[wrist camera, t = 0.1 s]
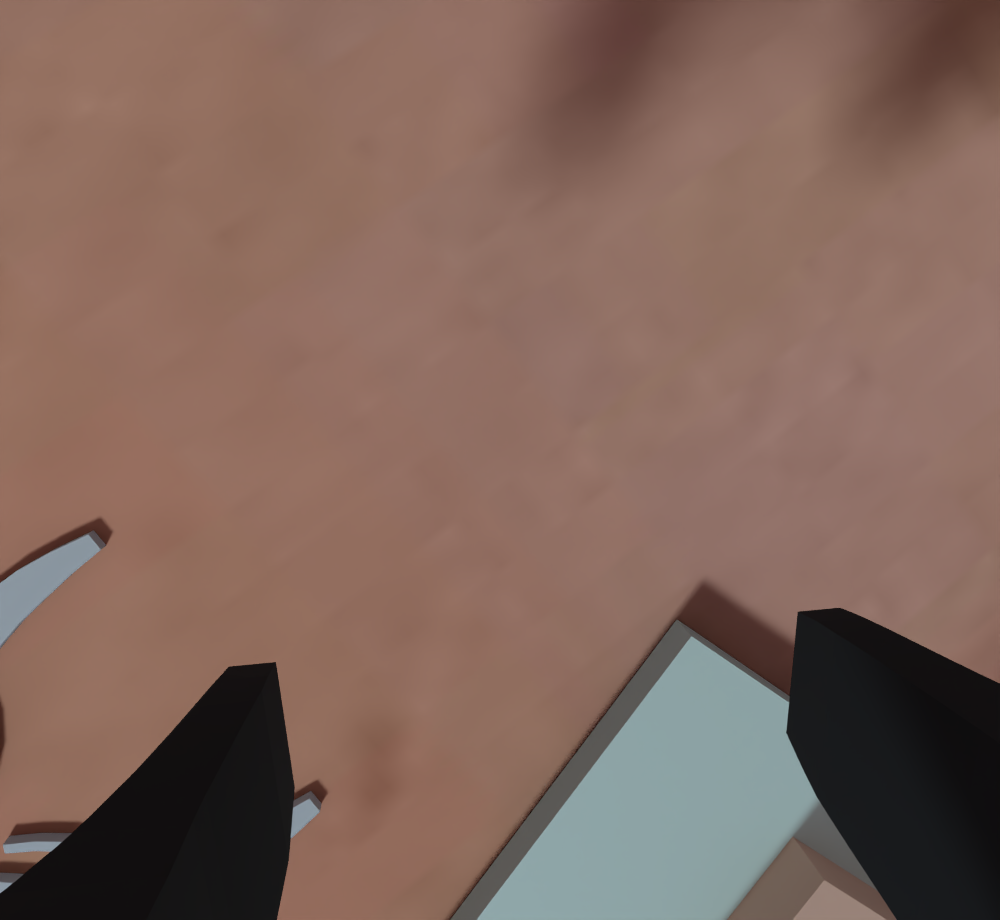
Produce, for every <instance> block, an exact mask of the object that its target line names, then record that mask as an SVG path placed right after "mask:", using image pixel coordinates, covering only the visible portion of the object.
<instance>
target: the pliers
mask: <svg viewBox="0 0 1000 920" xmlns="http://www.w3.org/2000/svg"><path fill="white" fill-rule="evenodd" d="M105 546H106V544H105V543H104V542H103V541H102V540H101V538H100V537H99V536H98V535H97V534H96V532H95V531H94V530H93V531H91V532H89V533H87V534H85V535H83V536H81V537H78V538H76V539H74V540H72V541H70V542H68V543H66V544H64V545H62V546H59V547H57V548H55V549H54V550H52V551H50V552H48V553H46V554H45V555H43V556H41V557H39V558H37V559H36V560H34V561H32V562H30V563H28V564H27V565H25V566H23V567H22V568H20V569H19V570H17V571H16V572H14V573H13V574H12V575H10V576H9V577H8V578H6V579H5V580H4V581H2V582H1V583H0V648H1V647H2V646H3V645H4V643H5V642H6V641H7V640H8V638H9V637H10V636H11V635H12V634H13V633H14V631H15V630H16V629H17V628H18V627H19V626H20V624H21V623H22V622H23V621H24V620H25V618H26V617H27V616H28V615H29V614H31V613H32V612H33V611H34V610H35V609H36V608H37V607H38V606H39V605H40V604H41V603H42V602H43V601H44V600H45V599H46V598H47V597H48V596H49V595H50V594H51V593H52V592H53V591H55V590H56V589H57V588H58V587H59V586H60V585H61V584H62V583H63V582H64V581H65V580H66V579H67V578H68V577H70V576H71V575H72V574H73V573H74V572H75V571H76V570H77V569H78V568H80V567H81V566H82V565H83V564H84V563H86V562H87V561H88V560H89V559H90V558H92V557H93V556H94V555H95V554H96V553H97V552H99V551H100V550H101V549H102V548H103V547H105ZM320 809H321V802H320V801H319V800H318V799H317V798H316V796H315V795H314V794H313V793H312V792H311V791H310V792H308V793H306V794H304V795H303V796H301V797H299V798H297V799H295V800H294V801H293V815H292V828H291V838H292V837H293V836H294V835H295V834H296V833H298V832H299V831H300V830H301V829H302V828H303V827H304V826H305V825H306V824H307V823H308V822H309V821H310V820H311V819H313V818H314V817H315V816H316V815H317V814H318V813H319V812H320ZM70 834H71V833H34V834H24V835H14V836H9V837H8V839H7V840H6V841H5V843H4V844H3V847H4V851H5V853H17V852H29V851H50V852H51V851H52V850H53V849H54V848H56V847H57V846H58V845H59V844H60V843H61V842H62V841H64V840H65V839H66V838H67V837H68V836H69V835H70ZM22 875H23V874H18V873H0V893H1V892H2V891H4V890H5V889H6V888H7V887H9V886H10V885H11V884H12V883H14V882H15V881H16V880H17V879H19V878H20V877H21V876H22Z"/></svg>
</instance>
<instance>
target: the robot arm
mask: <svg viewBox="0 0 1000 920" xmlns="http://www.w3.org/2000/svg"><path fill="white" fill-rule="evenodd" d="M786 734H787V736H788V738H789V740H790V742H791V745H792V747H793V749H794V751H795V753H796V755H797V758H798V760H799V762H800V764H801V766H802V769H803V771H804V773H805V775H806V777H807V779H808V781H809V783H810V785H811V787H812V789H813V791H814V793H815V795H816V797H817V798H818V800H819V801H820V803H821V805H822V806H823V808H824V809H825V811H826V813H827V814H828V816H829V817H830V819H831V820H832V822H833V823H834V825H835V827H836V828H837V830H838V831H839V833H840V834H841V836H842V837H843V839H844V840H845V842H846V844H847V845H848V847H849V848H850V850H851V851H852V853H853V854H854V856H855V857H856V859H857V860H858V862H859V863H860V865H861V866H862V868H863V869H864V871H865V872H866V874H867V875H868V877H869V878H870V880H871V881H872V883H873V885H874V886H875V888H876V889H877V891H878V892H879V894H880V895H881V897H882V898H883V900H884V901H885V903H886V904H887V906H888V907H889V909H890V910H891V912H892V913H893V915H894V916H895V918H896V919H897V920H1000V683H997V682H995V681H993V680H991V679H989V678H987V677H985V676H983V675H980V674H978V673H976V672H974V671H972V670H970V669H968V668H966V667H964V666H962V665H960V664H958V663H956V662H954V661H952V660H950V659H948V658H946V657H944V656H942V655H940V654H937V653H935V652H933V651H931V650H929V649H927V648H925V647H923V646H921V645H919V644H917V643H915V642H913V641H911V640H909V639H907V638H905V637H903V636H901V635H899V634H897V633H895V632H893V631H891V630H889V629H887V628H885V627H883V626H881V625H879V624H876V623H874V622H872V621H870V620H868V619H866V618H863V617H861V616H859V615H857V614H854V613H852V612H849V611H847V610H844V609H841V608H832V609H822V610H812V611H801V612H798V616H797V626H796V637H795V647H794V657H793V668H792V678H791V688H790V699H789V709H788V719H787V730H786ZM294 788H295V787H294V780H293V774H292V767H291V760H290V754H289V747H288V740H287V734H286V727H285V720H284V714H283V707H282V700H281V694H280V687H279V680H278V673H277V667H276V662H273V663H263V664H252V665H242V666H232V667H228V668H227V669H226V671H225V672H224V673H223V674H222V675H221V676H220V677H219V678H218V679H217V680H216V681H215V683H214V684H213V685H212V686H211V687H210V688H209V689H208V690H207V692H206V693H205V694H204V695H203V696H202V697H201V699H200V700H199V701H198V702H197V703H196V704H195V705H194V707H193V708H192V709H191V710H190V711H189V712H188V714H187V715H186V716H185V717H184V718H183V719H182V720H181V722H180V723H179V724H178V725H177V726H176V727H175V728H174V730H173V731H172V732H171V733H170V734H169V735H168V736H167V737H166V738H165V740H164V741H163V742H162V743H161V744H160V745H159V746H158V747H157V748H156V749H155V750H154V752H153V753H152V754H151V755H150V756H149V757H148V758H147V759H146V760H145V761H144V762H143V764H142V765H141V766H140V767H139V768H138V769H137V770H136V771H135V772H134V773H133V774H132V775H131V776H130V777H129V778H128V779H127V780H126V781H125V782H124V783H123V784H122V785H121V786H120V787H119V788H118V789H117V790H116V791H115V792H114V793H113V794H112V795H111V796H110V797H109V798H108V799H107V800H106V801H105V802H104V803H103V804H102V805H101V806H100V807H99V808H98V809H97V810H96V811H95V812H94V813H93V814H92V815H91V816H90V817H89V818H88V819H87V820H86V821H85V822H83V823H82V824H81V825H80V826H79V827H78V828H77V829H76V830H75V831H74V832H73V833H71V834H70V835H69V836H68V837H67V838H66V839H65V840H64V841H62V842H61V843H60V844H59V845H58V846H57V847H56V848H54V849H53V850H52V851H51V852H50V853H49V854H47V855H46V856H45V857H44V858H43V859H41V860H40V861H39V862H38V863H37V864H35V865H34V866H33V867H32V868H31V869H29V870H28V871H27V872H26V873H25V874H23V875H22V876H21V877H20V878H19V879H17V880H16V881H15V882H14V883H12V884H11V885H10V886H9V887H7V888H6V889H5V890H4V891H2V892H1V893H0V920H277V916H278V911H279V906H280V901H281V896H282V891H283V886H284V881H285V876H286V871H287V866H288V861H289V850H290V839H291V828H292V815H293V801H294Z"/></svg>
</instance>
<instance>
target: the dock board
mask: <svg viewBox="0 0 1000 920" xmlns="http://www.w3.org/2000/svg"><path fill="white" fill-rule="evenodd" d="M789 699H790V696H788V695H787V694H786V693H784V692H783V691H781V690H780V689H778V688H777V687H775V686H774V685H772V684H771V683H769V682H768V681H766V680H765V679H764V678H762V677H761V676H759V675H758V674H756V673H755V672H753V671H752V670H750V669H749V668H747V667H746V666H744V665H743V664H742V663H740V662H739V661H737V660H736V659H734V658H733V657H731V656H730V655H728V654H727V653H725V652H724V651H723V650H721V649H720V648H718V647H717V646H715V645H714V644H712V643H711V642H709V641H708V640H706V639H705V638H703V637H702V636H701V635H699V634H698V633H696V632H695V631H693V630H692V629H690V628H689V627H687V626H686V625H684V624H683V623H682V622H680V621H679V620H676V621H675V622H674V624H673V625H672V626H671V628H670V629H669V630H668V632H667V633H666V634H665V636H664V637H663V638H662V640H661V641H660V642H659V644H658V645H657V646H656V648H655V649H654V650H653V652H652V653H651V654H650V656H649V657H648V658H647V660H646V661H645V662H644V664H643V665H642V666H641V668H640V669H639V670H638V672H637V673H636V674H635V675H634V677H633V678H632V679H631V681H630V682H629V683H628V685H627V686H626V687H625V689H624V690H623V691H622V693H621V694H620V695H619V697H618V698H617V699H616V701H615V702H614V703H613V705H612V706H611V707H610V709H609V710H608V711H607V713H606V714H605V715H604V717H603V718H602V719H601V721H600V722H599V723H598V725H597V726H596V727H595V729H594V730H593V731H592V732H591V734H590V735H589V736H588V738H587V739H586V740H585V742H584V743H583V744H582V746H581V747H580V748H579V750H578V751H577V752H576V754H575V755H574V756H573V758H572V759H571V760H570V762H569V763H568V764H567V766H566V767H565V768H564V770H563V771H562V772H561V774H560V775H559V776H558V778H557V779H556V780H555V782H554V783H553V784H552V786H551V787H550V788H549V789H548V791H547V792H546V793H545V795H544V796H543V797H542V799H541V800H540V801H539V803H538V804H537V805H536V807H535V808H534V809H533V811H532V812H531V813H530V815H529V816H528V817H527V819H526V820H525V821H524V823H523V824H522V825H521V827H520V828H519V829H518V831H517V832H516V833H515V835H514V836H513V837H512V839H511V840H510V841H509V843H508V844H507V845H506V846H505V848H504V849H503V850H502V852H501V853H500V854H499V856H498V857H497V858H496V860H495V861H494V862H493V864H492V865H491V866H490V868H489V869H488V870H487V872H486V873H485V874H484V876H483V877H482V878H481V880H480V881H479V882H478V884H477V885H476V886H475V888H474V889H473V890H472V892H471V893H470V894H469V896H468V897H467V898H466V900H465V901H464V902H463V903H462V905H461V906H460V907H459V909H458V910H457V911H456V913H455V914H454V915H453V917H452V918H451V919H450V920H897V919H896V918H895V916H894V915H893V913H892V912H891V910H890V909H889V907H888V906H887V904H886V903H885V901H884V900H883V898H882V897H881V895H880V894H879V892H878V891H877V889H876V888H875V886H874V885H873V883H872V881H871V880H870V878H869V877H868V875H867V874H866V872H865V871H864V869H863V868H862V866H861V865H860V863H859V862H858V860H857V859H856V857H855V856H854V854H853V853H852V851H851V850H850V848H849V847H848V845H847V844H846V842H845V840H844V839H843V837H842V836H841V834H840V833H839V831H838V830H837V828H836V827H835V825H834V823H833V822H832V820H831V819H830V817H829V816H828V814H827V813H826V811H825V809H824V808H823V806H822V805H821V803H820V801H819V800H818V798H817V797H816V795H815V793H814V791H813V789H812V787H811V785H810V783H809V781H808V779H807V777H806V775H805V773H804V771H803V769H802V766H801V764H800V762H799V760H798V758H797V755H796V753H795V751H794V749H793V747H792V745H791V742H790V740H789V738H788V736H787V734H786V730H787V719H788V709H789Z"/></svg>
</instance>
